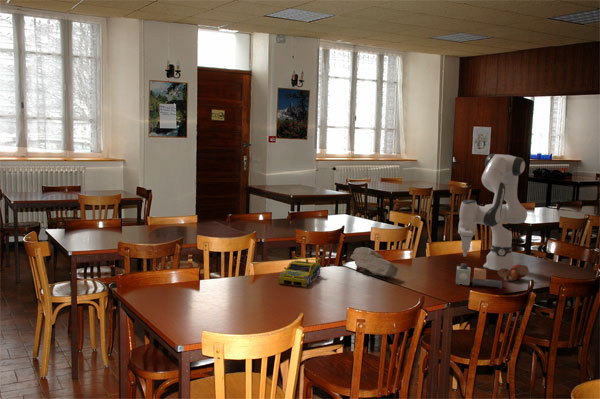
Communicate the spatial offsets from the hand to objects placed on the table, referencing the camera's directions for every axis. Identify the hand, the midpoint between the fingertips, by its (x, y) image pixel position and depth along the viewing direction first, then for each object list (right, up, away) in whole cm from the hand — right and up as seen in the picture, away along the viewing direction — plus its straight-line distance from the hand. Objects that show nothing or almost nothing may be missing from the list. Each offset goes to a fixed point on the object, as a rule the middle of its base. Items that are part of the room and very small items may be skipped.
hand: (464, 255), depth 313 cm
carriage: (+8, -14, 0) cm, 16 cm away
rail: (+11, -16, -1) cm, 19 cm away
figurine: (+30, -15, +13) cm, 36 cm away
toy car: (-88, -12, -6) cm, 89 cm away
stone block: (-48, -11, +14) cm, 51 cm away
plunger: (0, -9, +1) cm, 10 cm away
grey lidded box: (-1, -15, +2) cm, 15 cm away
